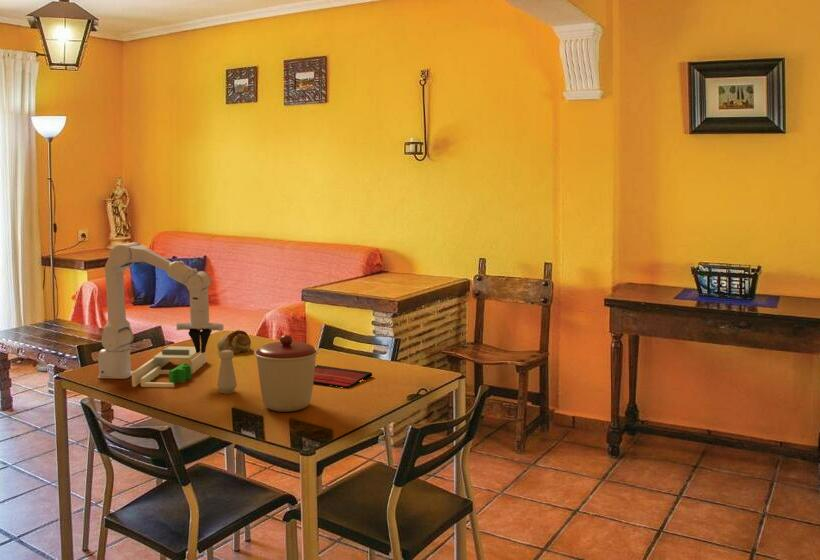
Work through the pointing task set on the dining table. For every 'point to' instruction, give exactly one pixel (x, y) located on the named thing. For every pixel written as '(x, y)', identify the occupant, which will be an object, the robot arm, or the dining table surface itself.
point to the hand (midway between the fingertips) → (200, 352)
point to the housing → (161, 371)
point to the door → (176, 353)
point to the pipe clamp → (180, 373)
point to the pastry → (234, 342)
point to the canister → (286, 374)
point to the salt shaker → (226, 373)
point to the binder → (338, 376)
